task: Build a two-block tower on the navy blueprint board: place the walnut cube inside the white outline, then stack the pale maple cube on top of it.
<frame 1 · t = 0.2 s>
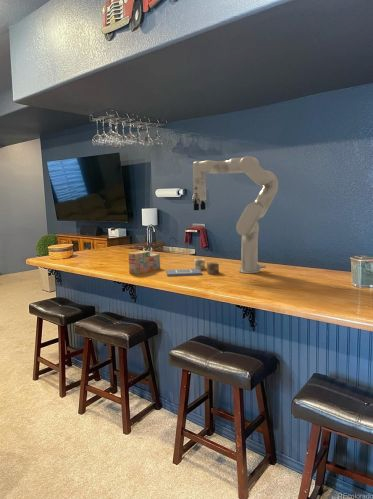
hand: (199, 209, 233), 37 cm above the table, tool pointing down, fingers open, 9 cm apart
stack of blocks: (145, 271, 233), on the table
walnut cube: (212, 273, 220), on the table
maple cube: (199, 268, 235), on the table
blueprint board: (183, 273, 222), on the table
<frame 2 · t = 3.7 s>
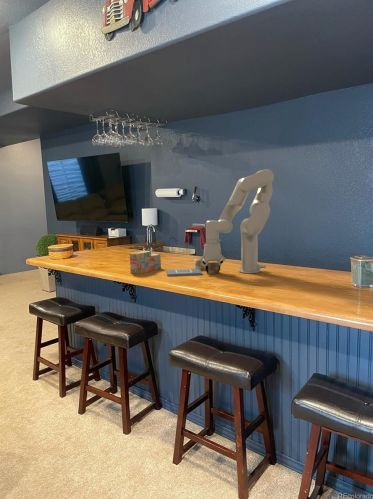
hand: (212, 271, 220), 1 cm above the table, tool pointing down, fingers closed on walnut cube, 6 cm apart
walnut cube: (212, 273, 220), on the table, touching gripper
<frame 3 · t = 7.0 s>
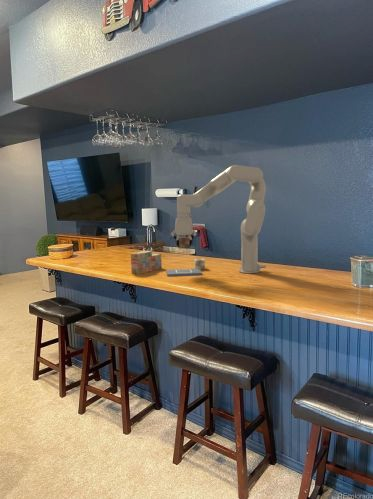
hand: (183, 246, 220), 16 cm above the table, tool pointing down, fingers closed on walnut cube, 6 cm apart
walnut cube: (184, 247, 220), point 15 cm above the table, touching gripper
when the fingers open (4 cm above the table, at t = 9.9 s): walnut cube drops 1 cm, resting on blueprint board.
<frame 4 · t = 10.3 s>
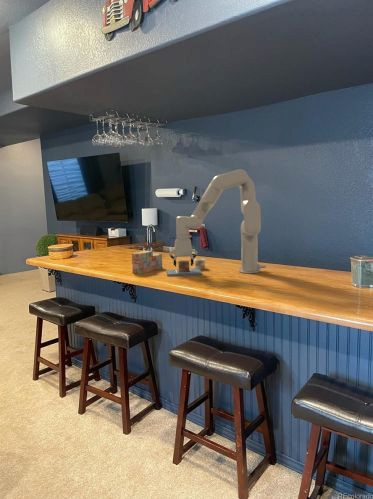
hand: (183, 266, 221), 4 cm above the table, tool pointing down, fingers open, 9 cm apart
walnut cube: (183, 271, 222), point 1 cm above the table, touching blueprint board
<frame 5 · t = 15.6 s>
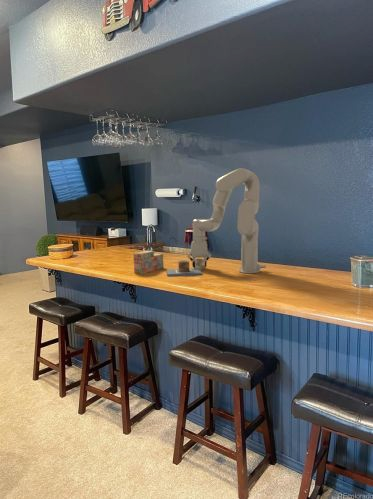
hand: (199, 267, 235), 1 cm above the table, tool pointing down, fingers closed on maple cube, 6 cm apart
maple cube: (199, 268, 235), on the table, touching gripper
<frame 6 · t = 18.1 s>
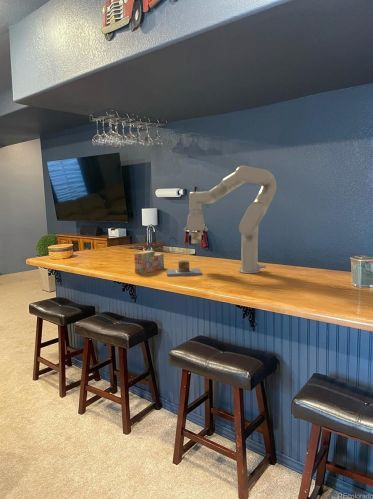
hand: (195, 241, 230), 18 cm above the table, tool pointing down, fingers closed on maple cube, 6 cm apart
maple cube: (196, 242, 230), point 17 cm above the table, touching gripper
when the fingers open (9 cm above the table, at t = 20.9 s): maple cube drops 1 cm, resting on walnut cube.
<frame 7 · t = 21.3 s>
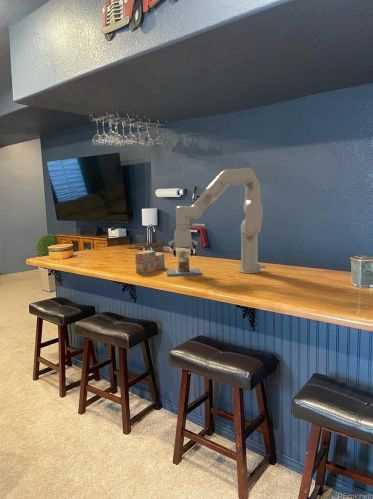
hand: (183, 256, 220), 10 cm above the table, tool pointing down, fingers open, 9 cm apart
walnut cube: (183, 271, 222), point 1 cm above the table, touching blueprint board, maple cube
maple cube: (183, 261, 221), point 7 cm above the table, touching walnut cube
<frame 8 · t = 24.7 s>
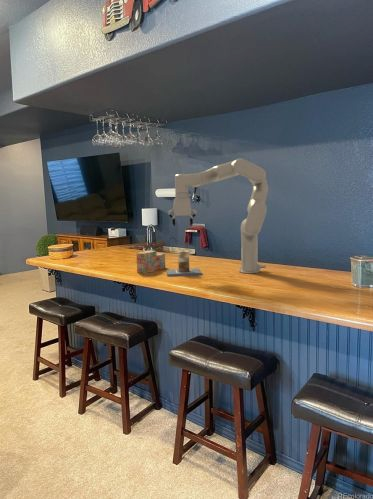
hand: (182, 225, 218), 28 cm above the table, tool pointing down, fingers open, 9 cm apart
at the end: walnut cube 0.1 cm off-centre on the blueprint board, point 1.2 cm above the blueprint board's base; maple cube 0.1 cm off-centre on the blueprint board, point 7.2 cm above the blueprint board's base; maple cube tilted 0° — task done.
